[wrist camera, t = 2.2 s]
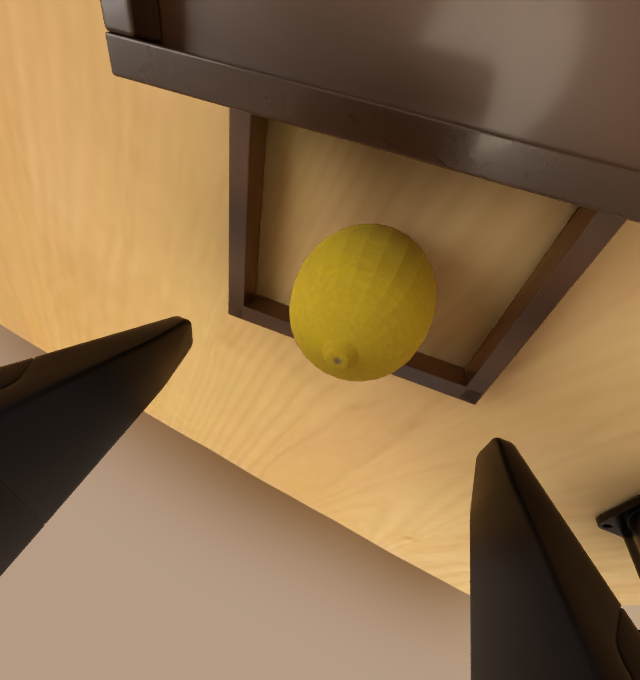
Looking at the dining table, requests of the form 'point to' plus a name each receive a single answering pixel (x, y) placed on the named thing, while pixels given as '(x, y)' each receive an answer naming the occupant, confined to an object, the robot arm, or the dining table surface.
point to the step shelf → (415, 115)
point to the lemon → (363, 302)
